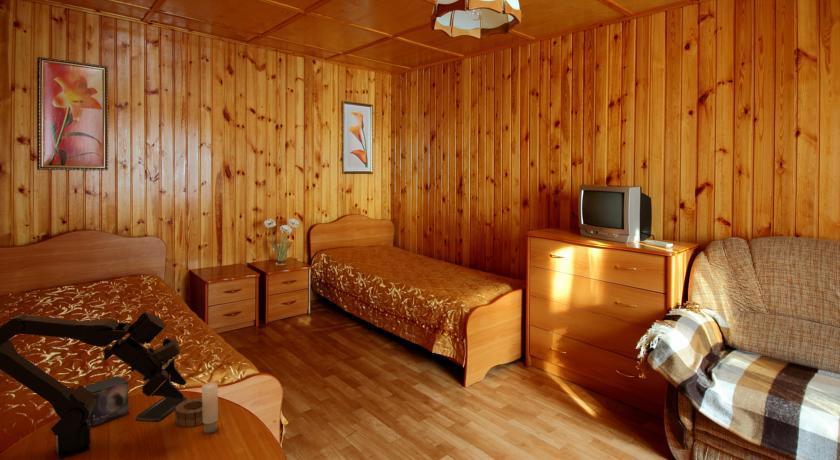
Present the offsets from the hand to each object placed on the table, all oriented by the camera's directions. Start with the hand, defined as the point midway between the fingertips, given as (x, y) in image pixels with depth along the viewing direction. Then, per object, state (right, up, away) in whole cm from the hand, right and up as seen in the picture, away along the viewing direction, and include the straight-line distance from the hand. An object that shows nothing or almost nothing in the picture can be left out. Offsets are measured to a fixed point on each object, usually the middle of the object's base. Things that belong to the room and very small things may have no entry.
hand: (183, 390), depth 133 cm
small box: (-27, -11, +9) cm, 31 cm away
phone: (-14, -11, +15) cm, 23 cm away
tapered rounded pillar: (+6, -12, +4) cm, 14 cm away
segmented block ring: (-2, -12, +10) cm, 15 cm away
